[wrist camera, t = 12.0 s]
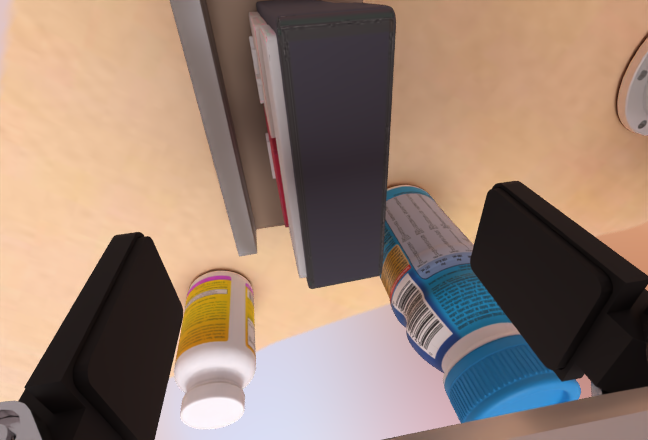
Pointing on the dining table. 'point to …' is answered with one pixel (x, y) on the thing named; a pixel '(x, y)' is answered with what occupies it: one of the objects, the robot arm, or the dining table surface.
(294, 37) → the calculator
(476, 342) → the beverage bottle
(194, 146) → the dining table surface
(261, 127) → the wooden channel stand
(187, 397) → the supplement bottle
